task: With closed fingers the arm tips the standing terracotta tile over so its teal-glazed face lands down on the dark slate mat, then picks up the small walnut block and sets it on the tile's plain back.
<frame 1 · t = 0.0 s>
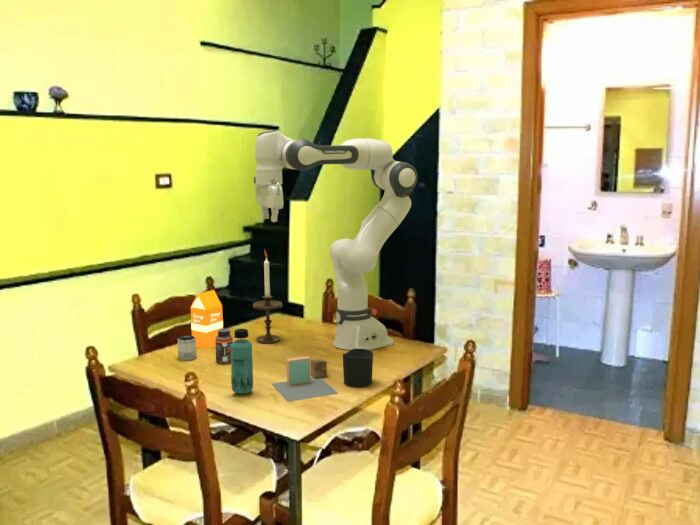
hand: (270, 220, 227), 48 cm above the table, tool pointing down, fingers open, 8 cm apart
candlestick: (268, 340, 253), on the table
orange juice: (207, 344, 249), on the table
pen holder: (357, 384, 207), on the table
tile: (298, 383, 207), resting on mat
block: (318, 376, 213), on the table, tilted 8°, touching mat
mat: (304, 389, 202), on the table
beverage bottle: (242, 394, 199), on the table
supplement bottle: (224, 362, 229), on the table
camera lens: (187, 358, 232), on the table
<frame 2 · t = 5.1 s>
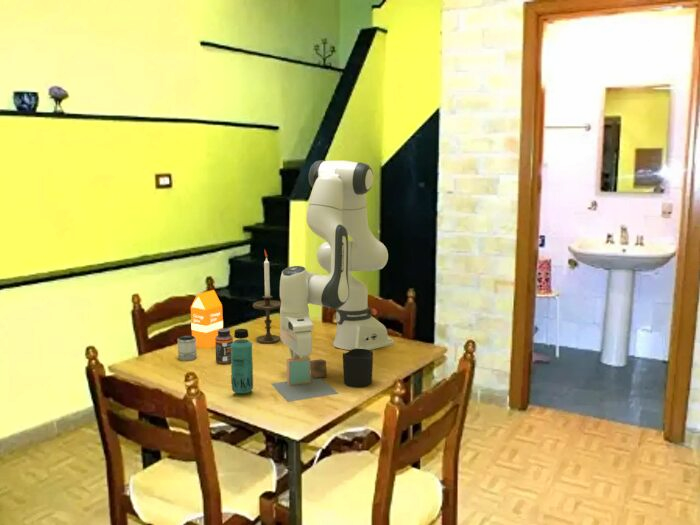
hand: (295, 362, 208), 6 cm above the table, tool pointing down, fingers closed
tile: (298, 383, 207), resting on mat, touching gripper
everything else where it was.
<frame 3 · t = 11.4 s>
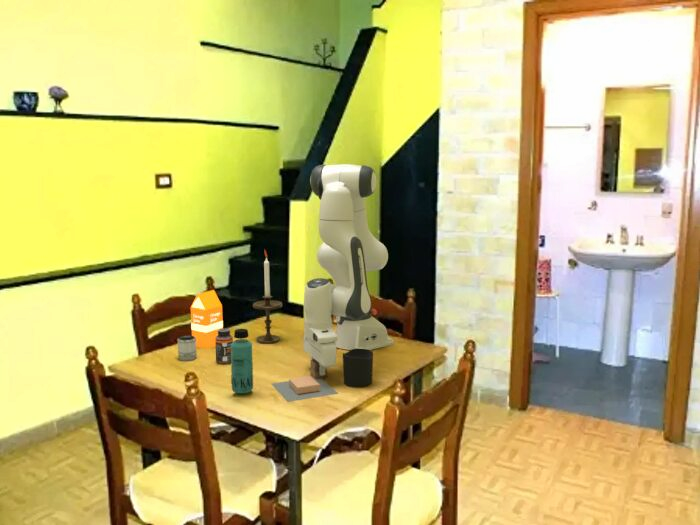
hand: (318, 372, 213), 2 cm above the table, tool pointing down, fingers closed on block, 4 cm apart
tile: (299, 380, 206), point 2 cm above the table, tilted 90°, touching mat
block: (318, 376, 213), on the table, touching gripper, mat
everything else where it was.
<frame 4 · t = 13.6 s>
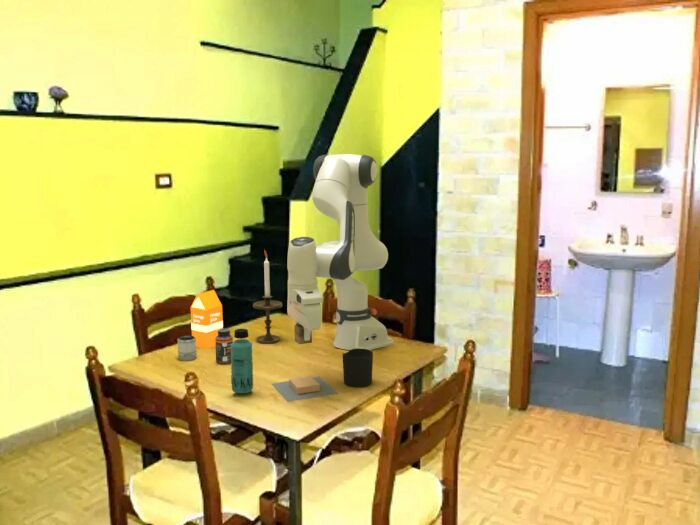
hand: (303, 337, 199), 16 cm above the table, tool pointing down, fingers closed on block, 4 cm apart
block: (303, 341, 200), point 15 cm above the table, touching gripper
everything else where it was.
when the fingers open (5 cm above the table, at t = 15.9 s): block drops 2 cm, resting on tile.
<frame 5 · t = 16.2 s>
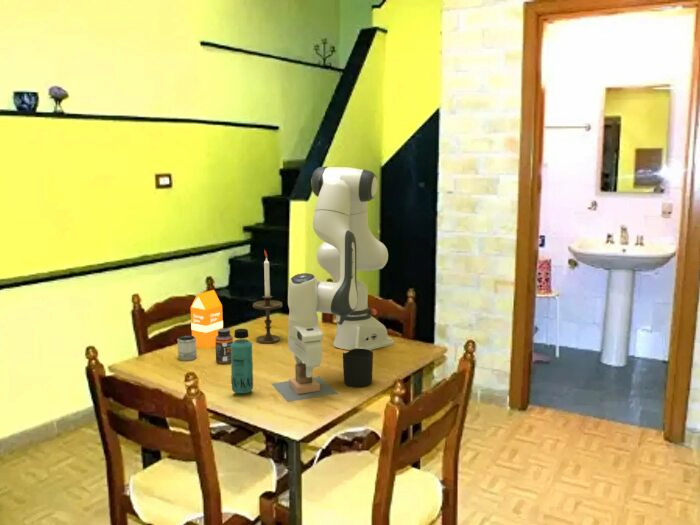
hand: (304, 372, 202), 5 cm above the table, tool pointing down, fingers open, 7 cm apart
tile: (299, 380, 206), point 2 cm above the table, tilted 90°, touching block, mat
block: (303, 381, 202), point 3 cm above the table, touching tile
everything else where it was.
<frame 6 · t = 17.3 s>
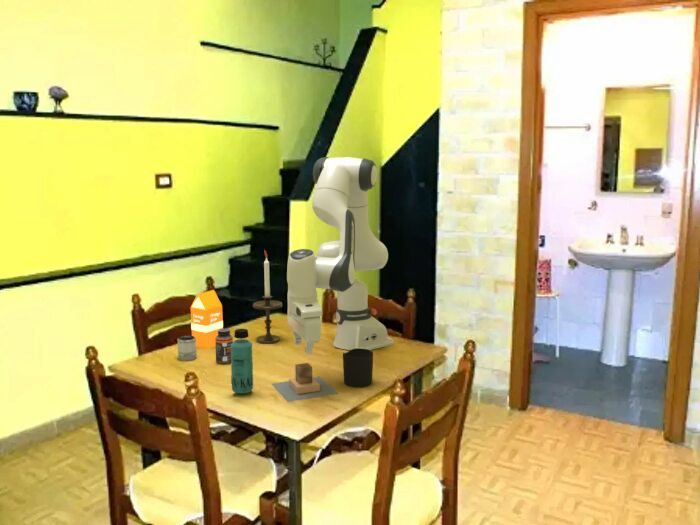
hand: (303, 348, 201), 13 cm above the table, tool pointing down, fingers open, 8 cm apart
nothing on the table moved.
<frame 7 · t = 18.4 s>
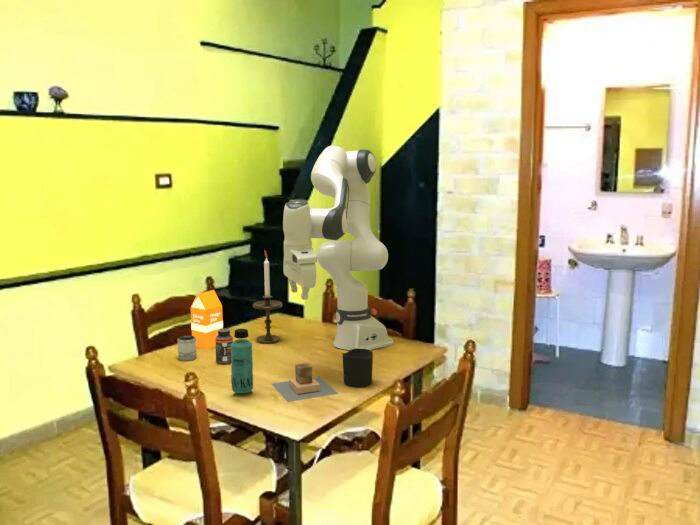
hand: (299, 295, 211), 26 cm above the table, tool pointing down, fingers open, 8 cm apart
nothing on the table moved.
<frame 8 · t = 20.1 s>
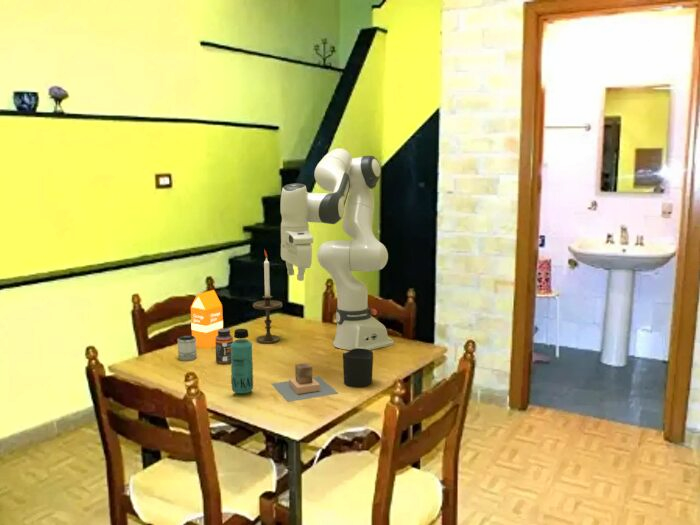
hand: (295, 277, 215), 31 cm above the table, tool pointing down, fingers open, 8 cm apart
nothing on the table moved.
at the end: tile tilted 90°; block point 2.6 cm above the table; block 3.8 cm from the tile (horizontally) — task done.
